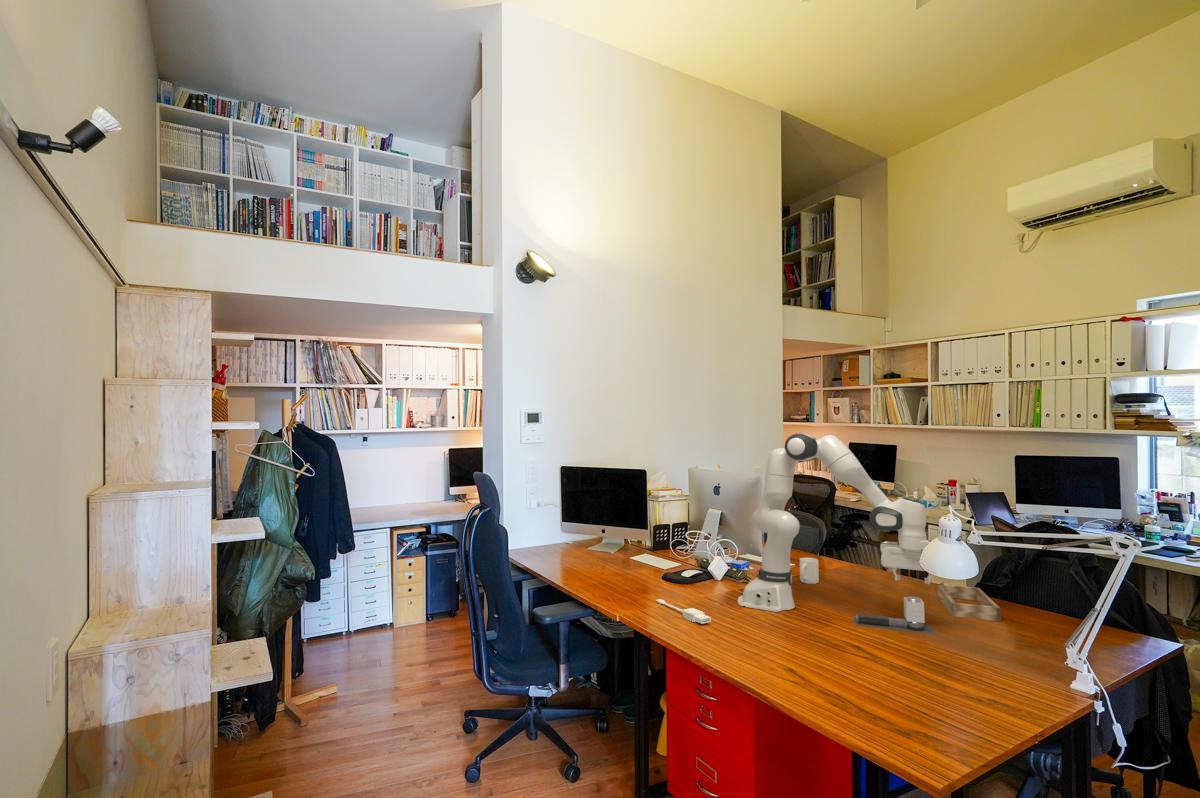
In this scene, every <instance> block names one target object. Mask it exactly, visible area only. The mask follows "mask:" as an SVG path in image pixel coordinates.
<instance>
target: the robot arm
mask: <svg viewBox="0 0 1200 798" xmlns="http://www.w3.org/2000/svg"><path fill="white" fill-rule="evenodd" d="M815 459H819V460H820V462H822V464H824V466H825V467H826V469H828V471H829V472H830V474H832V476H833V477H834V478H835V479H837V480H838V481H839V482H841V483H843V484H845V485H849V486H850V487H854V488H855V489H857V490H858V491H859V492H860V493H861V494H862V495H863V496H864V497H865V499H866V500H867V502H868V503H870V504H871V505H872V507H873V509H872V510H871V511H870V513H869V522H870V523H871V525H872V526H873V527H874V528H875V529H876V530H878V531H880V532H892V531H894V532H895V531H897V532H898V533H897V534H898V535H897V536H898V538H897V539H898V540H897V541H889V540H885V541H882V542H881V543H880V546H879V551H880V553H881V555H880V565H882V566H883V568H891V571H892V572H893V575H894V580H895V581H896V582H901V576H900V575H899V574H897V569H901V570H911V571H921V572H926V571H925V570H923V569H922V568H921V567H920V565H919V559H920V557H921V554H922V551H923V549H924V548H925V547H926V546H927V545H928V544H929V543H930V542H931V540H929V539H927V533H926V526H927V514H926V512H927V511H926V507H925V504H924V503H923V502H922V501H921V500H919V499H916V498H915V497H907V496H904V497H903V496H902V497H900V498H898V499H897V500H892V499H891V498H890V497H888V496H887V495H886V494H885V492H883V490H882V489H881V488H880V486H878V485H877V483H875V481H874V480H873V479H872V478H871V477H870V476H869V474H868V473H867V470H866V469H865V468H864V467H863V466H862V465H863V464H861V462H860V461H859V459H858V458H857V457H856V456H855V454H854V453H853V452H852V451H851V449H850V448H849V447H848V446H847V445H846V444H845V443H844V442H843V441H841V440H840V439H839V437H837V436H836V435H834V434H827V435H824V436H822V437H820V438H819V439H817V438H815V436H813V435H810V434H807V433H794V434H791V435H790V436H788V437H787V438H786V440H785V442H784V447H778V448H774V449H772V450H771V451H770V453H769V456H768V459H767V464H766V469H765V470H766V471H765V477H764V488H763V493H762V496H761V500H760V502H759V506H758V507H757V508H756V510H755V511H754V512H753V515H752V521H753V524H754V526H755V527H756V528H757V529H758V530H760V531H761V532H763V533H765V534H767V535H766V536H767V538H766V541H765V544H764V547H762V549H761V567H760V566H758V567H756V577H755V578H754V579H753V580H751V581H750V582H749V583H747V584H746V585H745V587H744V589H743V593H742V595H740V596H739V597H738V599H737V604H738V605H739V606H740V607H743V606H745V607H744V608H752V609H756V610H763V611H768V612H775V613H777V612H781V611H788V610H792V609H794V608H795V607H796V604H795V601H794V597H793V591H792V590H793V589H792V584H793V577H792V575H793V574H792V570H791V550H792V546H793V543H794V542H793V541H794V539H795V537H797V535H798V533H799V531H800V527H801V526H800V525H801V524H800V521H799V520H798V518H797V517H796V516H794V515H793V514H792V513H791V512H789V511H786V510H785V507H786V506H787V503H788V501H789V500H790V498H792V496H793V487H794V485H793V484H794V478H795V477H794V476H795V469H796V466H797V463H798V464H799V463H805V462H811V461H812V460H813V461H814V460H815ZM927 574H928V575H927V577H924V578H923V579H924V582H923V583H924V584H925V585H930V584H931V579H932V578H933V577H934V574H933V575H932V574H930V573H929V572H928V571H927Z"/></svg>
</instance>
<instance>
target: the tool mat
mask: <svg viewBox="0 0 1200 798" xmlns="http://www.w3.org/2000/svg"><path fill="white" fill-rule="evenodd" d="M852 619H853V624H854V626H858V627H868V628H875V629H886V630H896V631H903V632H904V631H905V632H913V633H914V632H915V633H923V634H933V635H936V634H937V633H936V631H935V629H934V628H933V627H932V625H931V624H930V625H928V624H924V630H923V631H913V630H909V629H906V628H897V627H886V626H876V625H867V624H859V623H857V621H856V617H852Z"/></svg>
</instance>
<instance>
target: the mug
mask: <svg viewBox="0 0 1200 798" xmlns="http://www.w3.org/2000/svg"><path fill="white" fill-rule="evenodd" d="M819 564H820V563H819V559H817V558H814V557H800V558H799V580H800V581H801V583H803V584H808V585H817V584H818V583H819V581H820V577H819V576H820V575H819V574H820V573H819V571H820V570H819V568H820V567H819ZM816 583H817V584H816Z"/></svg>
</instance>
